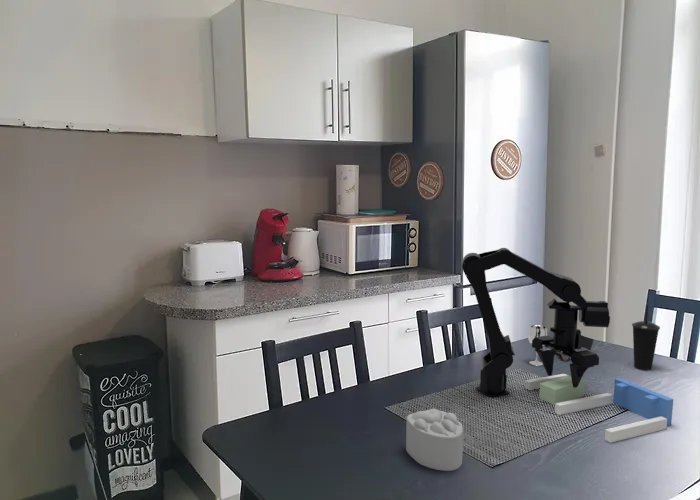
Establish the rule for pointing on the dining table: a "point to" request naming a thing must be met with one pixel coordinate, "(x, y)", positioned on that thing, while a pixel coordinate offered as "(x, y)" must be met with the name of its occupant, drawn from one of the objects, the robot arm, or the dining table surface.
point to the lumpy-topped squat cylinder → (435, 439)
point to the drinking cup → (644, 342)
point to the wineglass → (536, 332)
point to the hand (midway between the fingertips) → (562, 381)
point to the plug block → (560, 390)
